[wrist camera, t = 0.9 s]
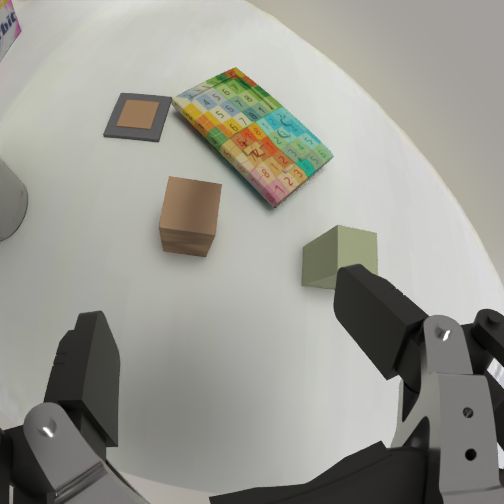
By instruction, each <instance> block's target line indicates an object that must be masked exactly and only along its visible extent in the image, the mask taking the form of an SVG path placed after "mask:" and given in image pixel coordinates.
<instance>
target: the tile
mask: <svg viewBox="0 0 504 504" xmlns="http://www.w3.org/2000/svg"><path fill="white" fill-rule="evenodd" d="M171 101H172V97H166V96H156V95H145V94H132V93H121V94H120V96H119V98H118V101H117V103H116V105H115V107H114V110H113V112H112V114H111V117H110V119H109V122H108V124H107V127H106V129H105V132H104V134H103V135H104V137H111V138H123V139H134V140H144V141H153V142H159V139H160V136H161V133H162V129H163V126H164V123H165V119H166V116H167V113H168V110H169V107H170V104H171Z"/></svg>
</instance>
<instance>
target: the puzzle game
mask: <svg viewBox="0 0 504 504" xmlns="http://www.w3.org/2000/svg"><path fill="white" fill-rule="evenodd" d="M172 105H173V106H174V108H175V109H177V110H178V111H179V112H180V113H181V114H182V115H183V116H184V117H185V118H186V119H187V120H188V121H189V122H190V124H191V125H192V126H193V127H194V128H195V129H196V130H197V131H198V132H199V133H200V134H202V135H203V136H204V137H205V138H206V139H207V140H208V141H209V142H210V143H211V144H212V145H213V146H214V147H215V148H216V149H217V150H218V151H219V152H220V153H221V154H222V155H223V156H224V157H225V158H226V159H227V160H228V161H229V162H230V163H231V164H232V165H233V166H234V167H235V168H236V169H237V170H238V171H239V172H240V174H241V175H242V176H243V177H244V178H245V179H246V180H247V181H248V182H249V183H250V184H251V185H252V186H253V187H254V188H255V189H256V190H257V191H258V192H259V193H260V194H261V195H262V196H263V197H264V198H265V199H266V201H267V202H268V203H269V204H270V205H271V206H273V207H274V208H275V207H277V206H278V205H279V204H280V203H281V202H282V201H283V200H285V199H286V198H287V197H288V196H289V195H290V194H291V193H293V192H294V191H295V190H296V189H297V188H298V187H300V186H301V185H302V184H303V183H304V182H305V181H306V180H308V179H309V178H310V177H311V176H312V175H313V174H315V173H316V172H317V171H318V170H319V169H320V168H322V167H323V166H324V165H325V164H326V163H327V162H329V161H330V160H331V159H332V158H333V157H334V156H333V154H332V153H331V151H330V150H329V149H328V148H327V147H326V146H325V145H324V144H323V143H322V142H321V141H320V140H319V139H318V138H317V137H316V136H315V135H314V134H312V133H311V132H310V131H309V130H308V129H307V128H306V127H305V126H304V125H303V124H302V123H301V122H300V121H299V120H298V119H297V118H295V117H294V116H293V115H292V114H291V113H290V112H289V111H288V110H287V109H285V108H284V107H283V106H282V105H281V104H280V103H279V102H277V101H276V100H275V99H274V98H273V97H272V96H270V95H269V94H268V93H267V92H266V91H265V90H263V89H262V88H261V87H260V86H259V85H257V84H256V83H255V82H254V81H252V80H251V79H250V78H249V77H247V76H246V75H245V74H244V73H242V72H241V71H240V70H239V69H237V68H236V67H235V68H233V69H231V70H228V71H226V72H224V73H222V74H220V75H217V76H215V77H213V78H211V79H209V80H207V81H205V82H203V83H201V84H199V85H197V86H195V87H193V88H191V89H189V90H187V91H185V92H184V93H182V94H180V95H178V96H176V97H174V98H173V99H172Z"/></svg>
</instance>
